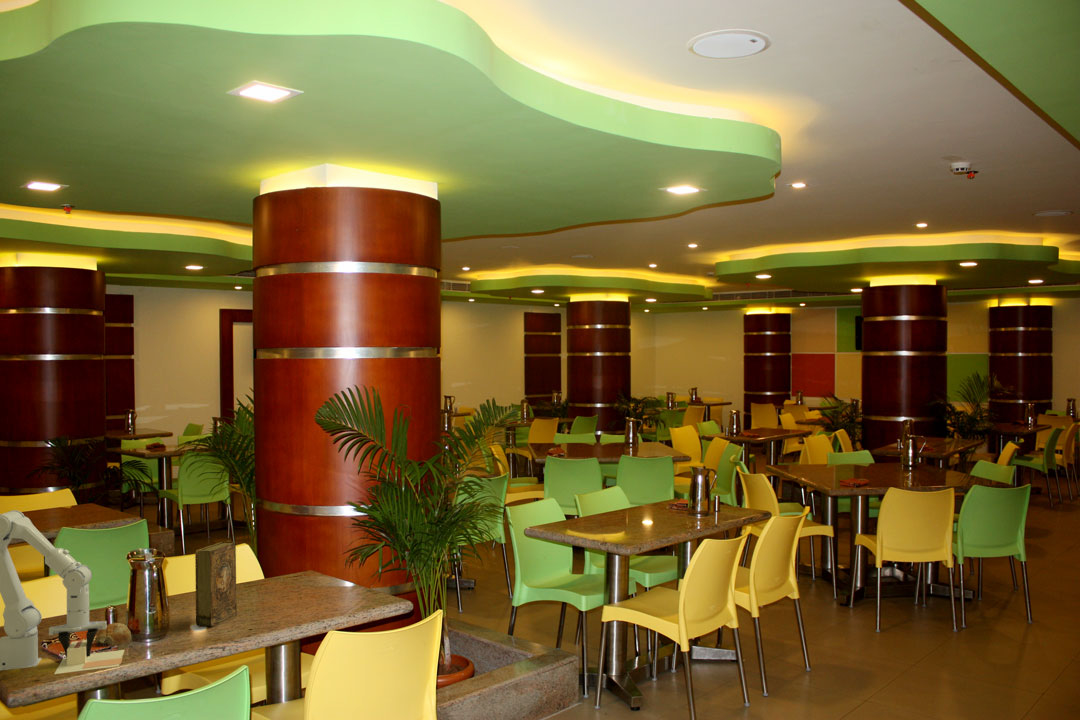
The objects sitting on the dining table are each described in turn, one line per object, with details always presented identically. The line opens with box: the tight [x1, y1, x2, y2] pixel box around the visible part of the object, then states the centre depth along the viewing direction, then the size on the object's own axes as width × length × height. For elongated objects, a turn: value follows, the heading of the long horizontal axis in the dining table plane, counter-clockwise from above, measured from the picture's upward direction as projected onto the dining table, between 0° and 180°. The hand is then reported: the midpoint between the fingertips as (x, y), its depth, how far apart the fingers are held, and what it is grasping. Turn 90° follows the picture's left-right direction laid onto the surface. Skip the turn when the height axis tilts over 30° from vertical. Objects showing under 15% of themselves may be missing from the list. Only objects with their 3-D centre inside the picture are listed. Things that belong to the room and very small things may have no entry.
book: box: [194, 541, 238, 628], centre depth 287 cm, size 16×6×25 cm, turn 168°
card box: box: [67, 639, 88, 666], centre depth 246 cm, size 4×8×5 cm, turn 20°
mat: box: [54, 649, 125, 675], centre depth 245 cm, size 16×16×1 cm
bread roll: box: [94, 622, 132, 647], centre depth 264 cm, size 10×10×8 cm
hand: (78, 656), depth 246 cm, fingers closed on card box, 4 cm apart
